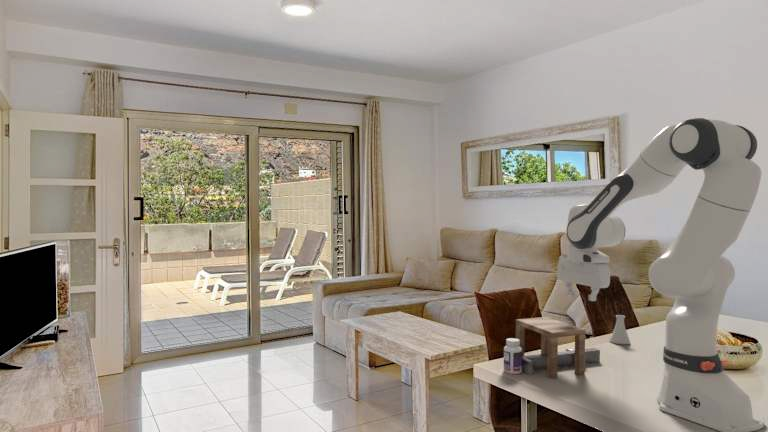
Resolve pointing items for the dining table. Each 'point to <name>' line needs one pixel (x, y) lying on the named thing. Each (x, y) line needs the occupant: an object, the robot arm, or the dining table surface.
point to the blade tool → (564, 360)
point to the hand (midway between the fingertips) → (581, 298)
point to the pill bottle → (513, 356)
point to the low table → (553, 341)
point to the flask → (620, 332)
